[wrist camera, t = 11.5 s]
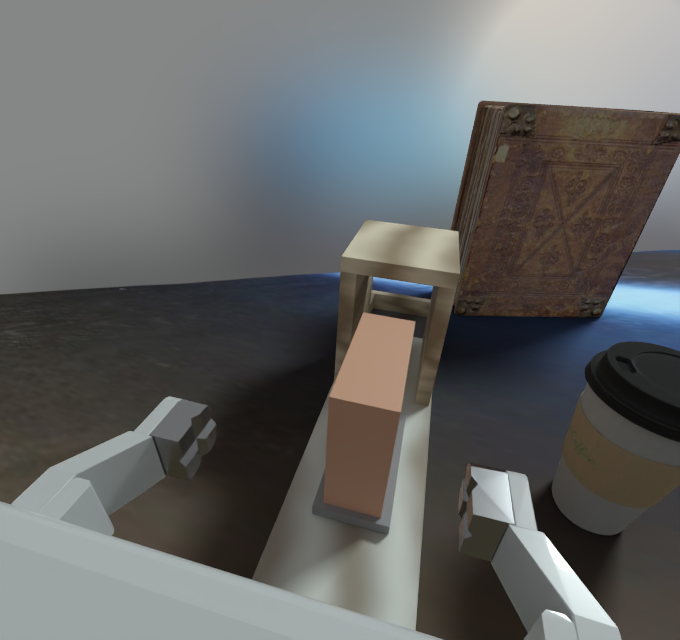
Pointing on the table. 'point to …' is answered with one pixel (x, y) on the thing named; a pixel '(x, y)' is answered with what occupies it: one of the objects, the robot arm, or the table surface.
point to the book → (555, 205)
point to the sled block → (366, 425)
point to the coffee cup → (621, 438)
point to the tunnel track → (408, 507)
